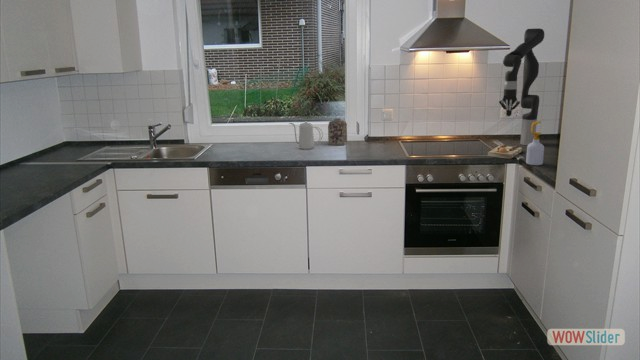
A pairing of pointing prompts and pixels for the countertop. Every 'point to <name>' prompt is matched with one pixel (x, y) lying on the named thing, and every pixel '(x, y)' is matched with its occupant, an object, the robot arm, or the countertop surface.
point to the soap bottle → (535, 149)
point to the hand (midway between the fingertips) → (508, 116)
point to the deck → (510, 153)
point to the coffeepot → (306, 135)
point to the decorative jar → (337, 132)
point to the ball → (502, 150)
